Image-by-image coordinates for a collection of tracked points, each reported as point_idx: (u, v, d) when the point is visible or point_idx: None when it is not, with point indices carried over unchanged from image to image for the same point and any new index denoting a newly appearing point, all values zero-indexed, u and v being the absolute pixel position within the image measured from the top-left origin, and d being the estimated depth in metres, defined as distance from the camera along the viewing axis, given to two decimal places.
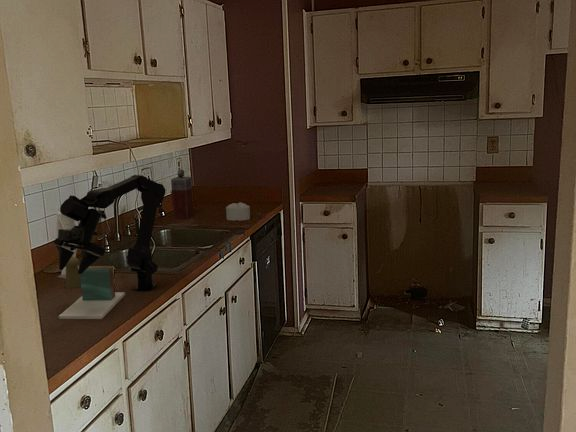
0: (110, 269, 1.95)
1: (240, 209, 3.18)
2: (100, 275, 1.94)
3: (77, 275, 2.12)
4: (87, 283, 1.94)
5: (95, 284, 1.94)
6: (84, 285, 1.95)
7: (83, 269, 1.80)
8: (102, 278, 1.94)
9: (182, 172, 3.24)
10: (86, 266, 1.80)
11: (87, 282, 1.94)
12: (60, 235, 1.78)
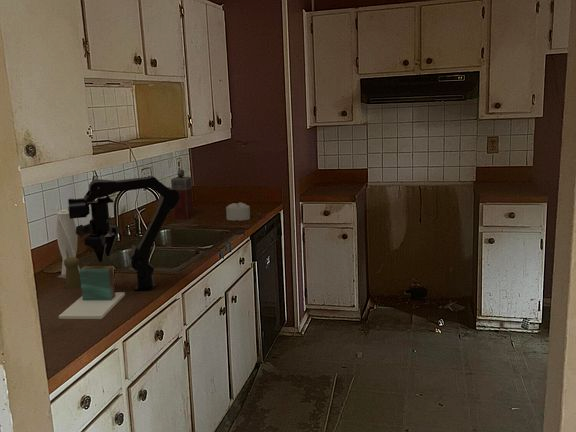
0: (110, 269, 1.95)
1: (240, 209, 3.18)
2: (100, 275, 1.94)
3: (77, 275, 2.12)
4: (87, 283, 1.94)
5: (95, 284, 1.94)
6: (84, 285, 1.95)
7: (100, 257, 1.98)
8: (102, 278, 1.94)
9: (182, 172, 3.24)
10: (100, 254, 1.98)
11: (87, 282, 1.94)
12: None
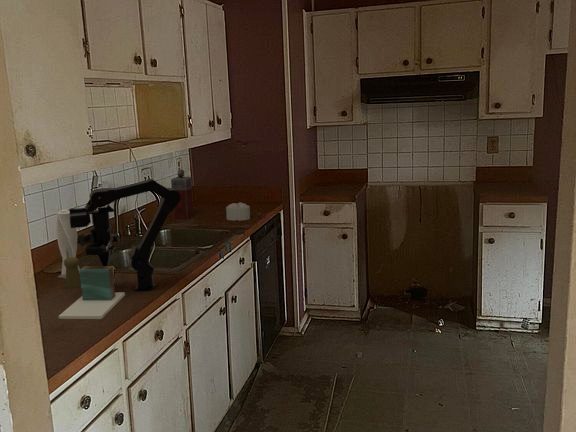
0: (110, 269, 1.95)
1: (240, 209, 3.18)
2: (100, 275, 1.94)
3: (77, 275, 2.12)
4: (87, 283, 1.94)
5: (95, 284, 1.94)
6: (84, 285, 1.95)
7: (105, 263, 2.02)
8: (102, 278, 1.94)
9: (182, 172, 3.24)
10: (105, 260, 2.02)
11: (87, 282, 1.94)
12: None
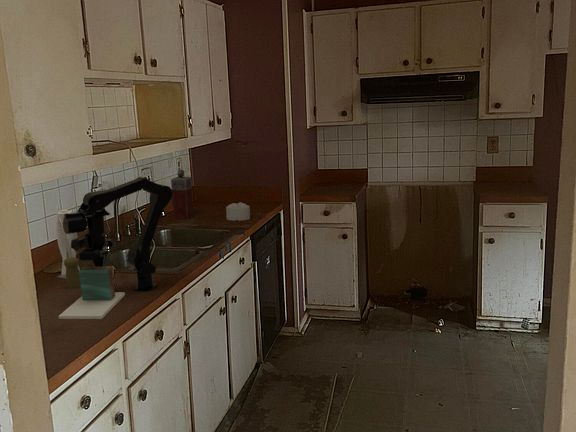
0: (109, 269, 1.95)
1: (240, 209, 3.18)
2: (100, 275, 1.93)
3: (77, 275, 2.12)
4: (86, 283, 1.94)
5: (95, 284, 1.94)
6: (84, 285, 1.94)
7: None
8: (102, 278, 1.93)
9: (182, 172, 3.24)
10: (100, 265, 1.97)
11: (87, 282, 1.94)
12: None
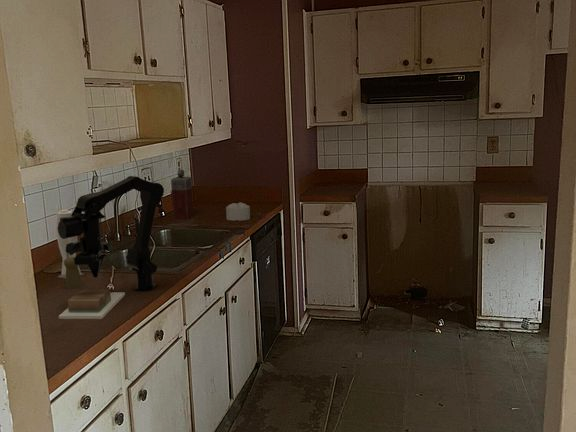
0: (98, 306, 1.85)
1: (240, 209, 3.18)
2: None
3: (77, 275, 2.12)
4: None
5: None
6: None
7: (95, 273, 1.94)
8: None
9: (182, 172, 3.24)
10: (95, 270, 1.93)
11: None
12: None
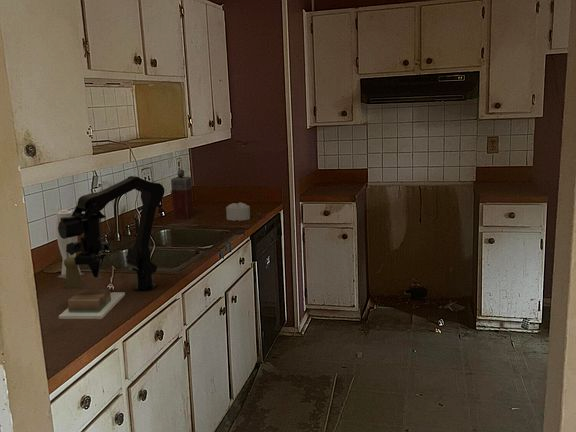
0: (98, 306, 1.85)
1: (240, 209, 3.18)
2: None
3: (77, 275, 2.12)
4: None
5: None
6: None
7: (95, 273, 1.94)
8: None
9: (182, 172, 3.24)
10: (96, 270, 1.93)
11: None
12: None
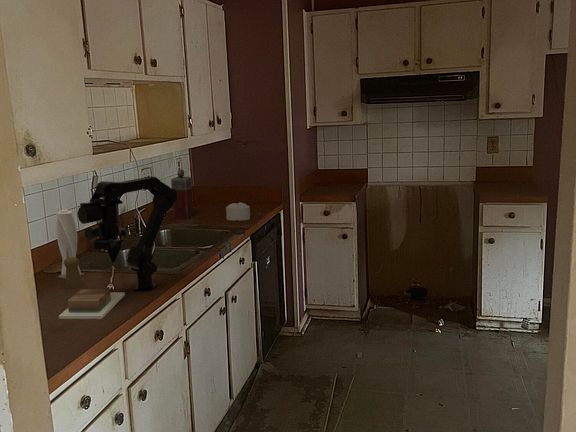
0: (98, 306, 1.85)
1: (240, 209, 3.18)
2: None
3: (77, 275, 2.12)
4: None
5: None
6: None
7: (113, 257, 1.97)
8: None
9: (182, 172, 3.24)
10: (113, 254, 1.97)
11: None
12: None
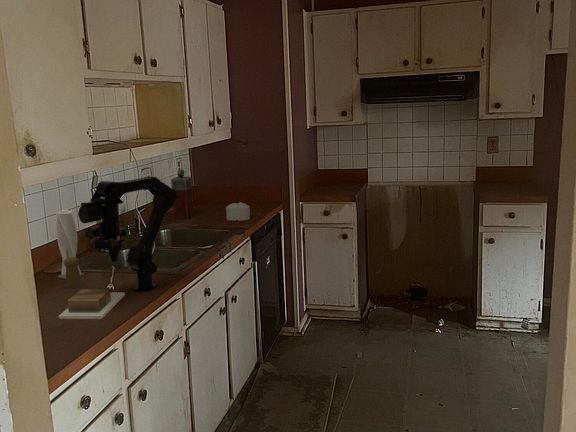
0: (98, 306, 1.85)
1: (240, 209, 3.18)
2: None
3: (77, 275, 2.12)
4: None
5: None
6: None
7: (113, 257, 1.97)
8: None
9: (182, 172, 3.24)
10: (114, 254, 1.97)
11: None
12: None
